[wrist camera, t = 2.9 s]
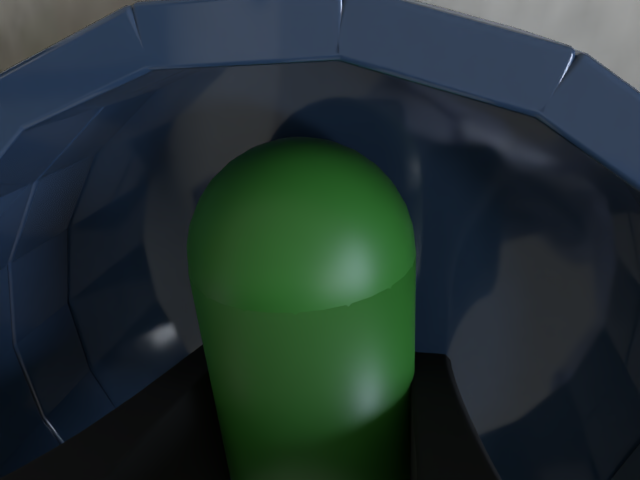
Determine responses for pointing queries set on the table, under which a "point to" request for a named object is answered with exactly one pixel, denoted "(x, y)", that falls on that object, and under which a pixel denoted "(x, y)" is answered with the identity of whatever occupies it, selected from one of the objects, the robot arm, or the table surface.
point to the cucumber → (307, 312)
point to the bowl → (376, 145)
